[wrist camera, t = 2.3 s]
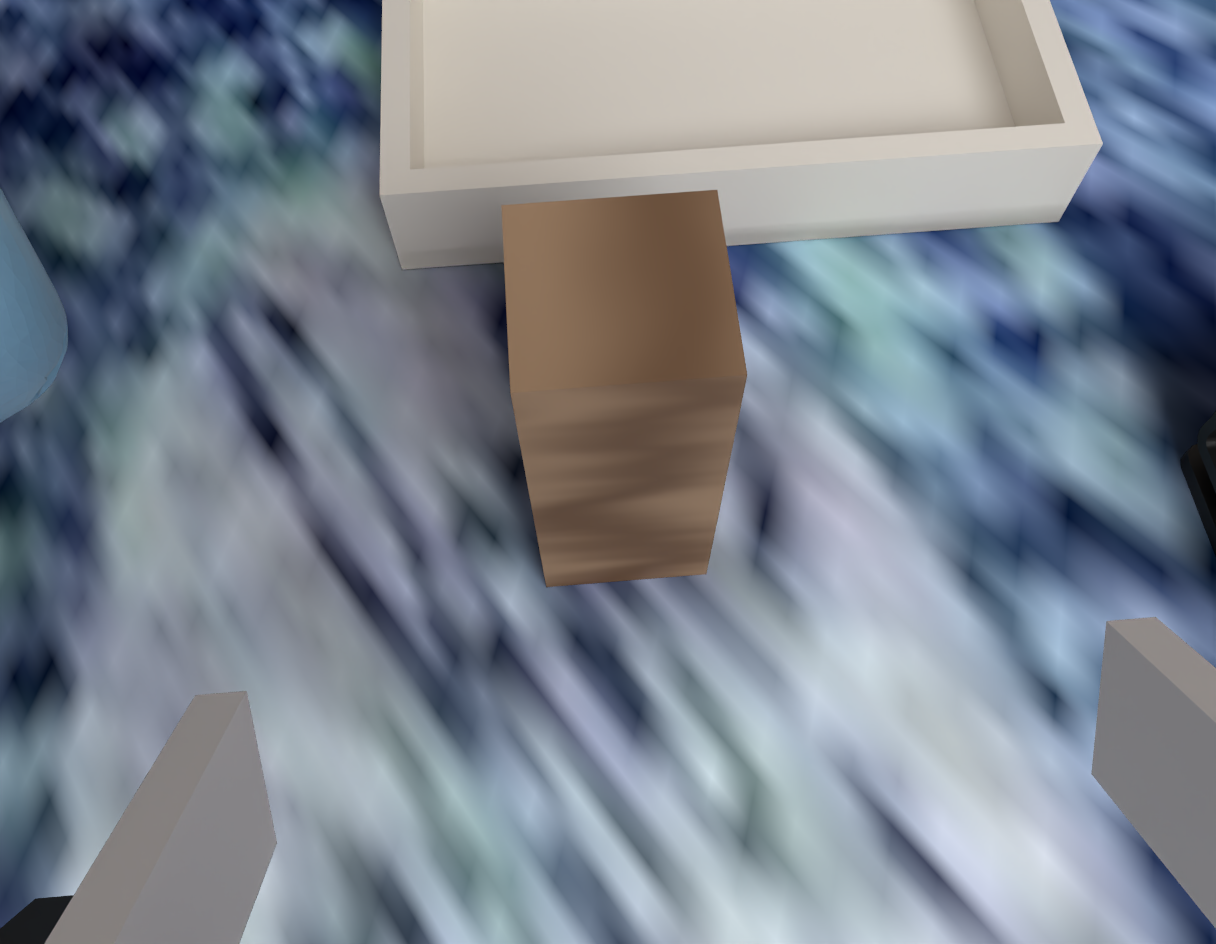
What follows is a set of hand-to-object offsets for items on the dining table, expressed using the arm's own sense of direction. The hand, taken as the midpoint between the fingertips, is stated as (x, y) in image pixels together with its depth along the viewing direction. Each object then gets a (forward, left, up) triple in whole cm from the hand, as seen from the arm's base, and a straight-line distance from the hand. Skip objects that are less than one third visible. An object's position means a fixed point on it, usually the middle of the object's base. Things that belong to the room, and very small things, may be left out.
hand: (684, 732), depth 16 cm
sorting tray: (+5, +28, -15) cm, 32 cm away
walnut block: (0, +10, -15) cm, 18 cm away
